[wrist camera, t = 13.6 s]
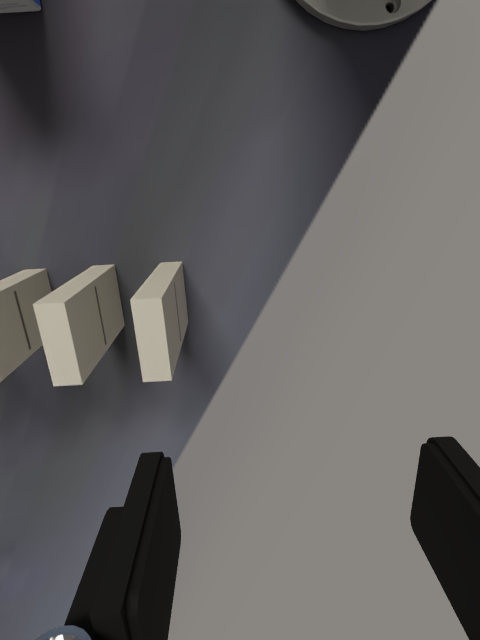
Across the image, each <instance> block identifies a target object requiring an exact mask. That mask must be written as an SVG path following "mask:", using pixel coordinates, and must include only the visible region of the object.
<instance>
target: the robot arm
mask: <svg viewBox="0 0 480 640" xmlns="http://www.w3.org/2000/svg"><path fill="white" fill-rule="evenodd" d="M296 1H297V2H298V3H299V4H300V5H301V6H302V7H303V8H304V9H305V10H306V11H307V12H308V13H310V14H312V15H313V16H315V17H317V18H318V19H320V20H322V21H323V22H325V23H327V24H330V25H333V26H336V27H339V28H342V29H349V30H361V31H366V30H372V29H379V28H385V27H387V26H390V25H393V24H395V23H398V22H400V21H403V20H405V19H407V18H408V17H410V16H411V15H413V14H414V13H416V12H418V11H419V10H421V9H422V8H424V7H425V6H426V5H427V4H428V3H429V2H431V1H432V0H296ZM385 6H389V7H390V8H391V13H389V12H388V11H387V10H386V7H385ZM410 520H411V526H412V529H413V531H414V534H415V535H416V537H417V539H418V541H419V543H420V545H421V547H422V549H423V551H424V553H425V555H426V557H427V559H428V561H429V562H430V565H431V566H432V568H433V570H434V572H435V574H436V576H437V578H438V580H439V582H440V584H441V586H442V588H443V590H444V592H445V594H446V595H447V597H448V599H449V601H450V603H451V605H452V607H453V609H454V611H455V613H456V615H457V617H458V619H459V621H460V623H461V624H462V626H463V628H464V630H465V632H466V634H467V636H468V638H469V640H480V467H479V466H478V465H477V464H476V463H475V461H474V460H473V459H472V458H471V457H470V456H469V454H467V452H466V451H465V450H464V449H463V448H462V446H461V445H460V444H459V443H458V442H457V441H456V440H455V439H454V438H453V437H435V438H434V437H432V438H429V439H428V440H427V443H426V444H422V446H421V450H420V457H419V464H418V470H417V477H416V483H415V490H414V496H413V503H412V510H411V516H410ZM180 544H181V529H180V521H179V514H178V507H177V499H176V492H175V485H174V477H173V470H172V463H171V458H170V457H164V454H163V452H151V453H142V454H141V455H140V457H139V461H138V464H137V467H136V470H135V473H134V476H133V479H132V482H131V485H130V488H129V491H128V495H127V498H126V501H125V504H124V507H111V508H109V509H108V510H107V512H106V514H105V516H104V519H103V522H102V524H101V527H100V530H99V533H98V535H97V538H96V541H95V543H94V546H93V549H92V551H91V554H90V557H89V560H88V562H87V565H86V568H85V570H84V573H83V576H82V578H81V581H80V584H79V587H78V589H77V592H76V595H75V597H74V600H73V603H72V605H71V608H70V611H69V614H68V616H67V619H66V622H65V624H64V626H60V627H57V628H54V629H51V630H49V631H47V632H46V633H44V634H42V635H41V636H39V637H38V638H36V639H35V640H168V633H169V625H170V618H171V609H172V603H173V596H174V588H175V581H176V574H177V566H178V558H179V551H180Z"/></svg>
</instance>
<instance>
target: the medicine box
mask: <svg viewBox="0 0 480 640" xmlns="http://www.w3.org/2000/svg"><path fill="white" fill-rule="evenodd" d="M40 10H41V3H40V0H0V13H13V12H29V11H40Z"/></svg>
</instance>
